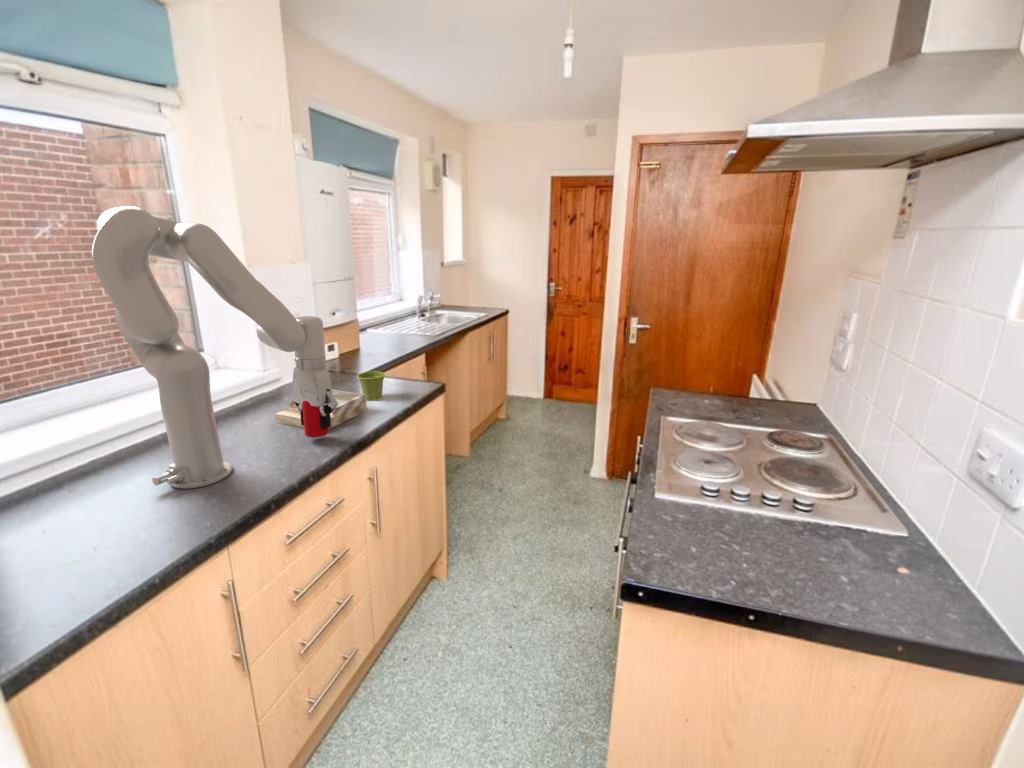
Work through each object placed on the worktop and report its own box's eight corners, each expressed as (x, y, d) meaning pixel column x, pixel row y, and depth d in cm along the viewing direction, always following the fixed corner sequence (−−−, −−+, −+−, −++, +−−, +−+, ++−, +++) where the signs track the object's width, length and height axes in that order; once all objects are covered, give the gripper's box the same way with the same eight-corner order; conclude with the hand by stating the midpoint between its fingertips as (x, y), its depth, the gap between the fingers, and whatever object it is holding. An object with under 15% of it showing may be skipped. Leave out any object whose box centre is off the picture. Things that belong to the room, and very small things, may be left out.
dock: (322, 432, 138) (320, 414, 137) (276, 422, 145) (274, 406, 143) (366, 410, 156) (365, 394, 155) (323, 402, 163) (322, 387, 161)
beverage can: (332, 432, 135) (329, 392, 132) (322, 440, 129) (319, 398, 126) (311, 430, 136) (308, 390, 133) (300, 439, 130) (296, 397, 127)
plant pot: (353, 400, 165) (351, 377, 162) (369, 392, 174) (367, 370, 171) (377, 403, 162) (375, 379, 160) (391, 395, 171) (390, 372, 169)
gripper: (275, 362, 127) (281, 425, 132) (326, 370, 121) (331, 435, 126) (297, 356, 133) (302, 417, 138) (346, 364, 127) (350, 426, 132)
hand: (316, 425), depth 132 cm, fingers closed on beverage can, 6 cm apart
